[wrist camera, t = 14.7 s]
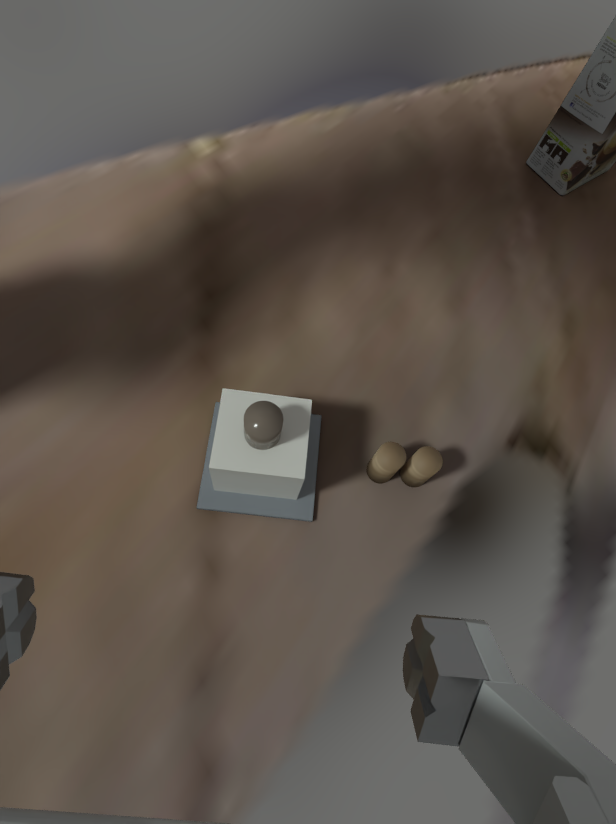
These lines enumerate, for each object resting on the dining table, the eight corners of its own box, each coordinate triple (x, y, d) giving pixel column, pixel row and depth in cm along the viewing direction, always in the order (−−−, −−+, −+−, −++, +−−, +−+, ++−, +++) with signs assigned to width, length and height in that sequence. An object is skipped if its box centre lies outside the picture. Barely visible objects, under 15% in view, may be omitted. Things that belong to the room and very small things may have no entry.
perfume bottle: (214, 490, 39) (206, 456, 31) (226, 419, 41) (221, 371, 34) (296, 499, 39) (308, 468, 32) (303, 429, 42) (316, 384, 34)
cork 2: (399, 485, 41) (414, 472, 38) (400, 460, 42) (414, 444, 38) (425, 488, 41) (443, 475, 38) (425, 463, 42) (442, 448, 39)
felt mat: (197, 508, 38) (196, 507, 38) (216, 403, 42) (215, 401, 42) (311, 521, 39) (312, 520, 39) (320, 417, 43) (321, 415, 42)
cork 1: (365, 481, 41) (377, 467, 37) (366, 456, 42) (378, 440, 38) (391, 484, 41) (406, 470, 37) (392, 459, 42) (406, 443, 38)
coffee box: (562, 198, 57) (672, 50, 42) (523, 163, 59) (615, 8, 44) (610, 171, 60) (729, 22, 45) (572, 137, 62) (674, -16, 47)
